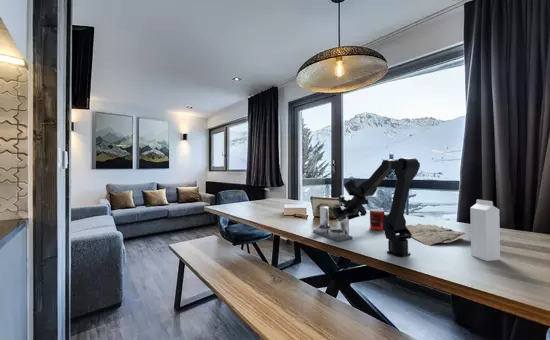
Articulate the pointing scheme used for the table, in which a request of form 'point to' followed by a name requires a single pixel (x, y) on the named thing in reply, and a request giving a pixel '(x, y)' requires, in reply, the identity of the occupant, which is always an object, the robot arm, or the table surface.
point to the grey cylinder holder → (329, 227)
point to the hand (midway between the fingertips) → (342, 220)
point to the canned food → (376, 219)
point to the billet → (345, 223)
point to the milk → (485, 231)
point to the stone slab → (434, 234)
